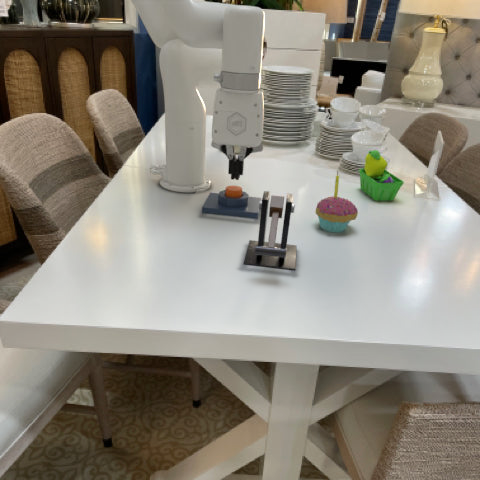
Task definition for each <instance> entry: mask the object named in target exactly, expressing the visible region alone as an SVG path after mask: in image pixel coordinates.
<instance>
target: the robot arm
mask: <svg viewBox="0 0 480 480" xmlns="http://www.w3.org/2000/svg"><path fill="white" fill-rule="evenodd" d="M130 1H131V2H132V4H133V5H134V8H135V9H136V11H137V15H138V16H139V17H140V20H141V22H142V24H143V26H144V27H145V30H146V31H147V33H148V35H149V37H150V39H151V41H152V42H153V44H154V45H155V46H156V47H157V48H159V49H160V51H159V56H158V60H159V61H158V63H159V70H160V76H161V82H162V89H163V99H164V129H165V130H164V132H165V133H164V135H165V164H162V165H158V164H149V170H148V171H149V173H151V175H152V176H161V177H160V178H159V184H160V186H161V187H162V188H163V189H165V190H168V191H171V192H176V193H187V194H188V193H196V192H197V191H198V190H204V191H206V190H209V189H210V188H211V183H212V182H211V180H210V179H209V178H208V177H206V175H205V174H206V144H207V143H206V142H207V141H206V140H207V137H206V136H207V109H206V105H205V103H204V100H203V99H202V97H201V95H200V93H199V90H198V89H203V88H205V89H207V88H209V89H210V88H217V89H216V91H215V96H214V102H213V109H212V111H213V112H212V121H211V122H212V123H211V144H210V146H211V148H214V149H216V150H220V151H222V152H223V154H224V155H225V156H226V158H227V159H228V170H227V172H228V173H227V174H228V175H230V180H236V181H239V180H240V177H241V176H243V175H244V166H245V159H246V158H248V157H249V156H250V155H251V154H254V153H260V152H263V150H264V143H263V137H264V123H265V103H264V92H263V91H262V90H260V88H261V78H262V64H263V49H264V36H265V35H264V34H265V24H266V23H265V22H266V14H265V12H264V10H263V9H262V8H261V7H259V6H254V5H242V4H234V3H233V4H232V3H223V2H216V1H215V2H214V1H204V0H130ZM234 146H241V149H240V154H238V155H236V154H235V151H234Z"/></svg>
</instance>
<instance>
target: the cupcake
mask: <svg viewBox="0 0 480 480" xmlns="http://www.w3.org/2000/svg"><path fill="white" fill-rule="evenodd" d="M339 182H340V175H339V171H336V175H335V181H334V191H333V192H334V193H333V196H327V197H325V198H323V199H322V198H321V200H320V201H318V202H317V204H316V207H315V215H317V218H318V221H319V227H320V228H321V230H323V231H326V232H331V233H342V232H344V231H345V230H346V228H347V227H348V225H349V224H350V222H351V221H354V220H356V219H357V218H358V214H359V211H358V207H357V206H356V205H355V204H354V203H353V202H352V201H351V200H349V199H348V198H344V197H340V196H339V195H338V194H339Z"/></svg>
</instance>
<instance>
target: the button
mask: <svg viewBox="0 0 480 480" xmlns="http://www.w3.org/2000/svg"><path fill="white" fill-rule="evenodd" d="M225 190H226V192H225V196H228V197H233V198H238V197H242V191H243V188H242V187H241V186H238V185H227V186H226V187H225Z"/></svg>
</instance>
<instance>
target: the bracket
mask: <svg viewBox="0 0 480 480" xmlns="http://www.w3.org/2000/svg"><path fill="white" fill-rule="evenodd" d="M270 194H271V192H270V191H268V190H267V191H266V190H265V191H264V190H263V193H262V197H261V198H262V201H260V202H259V209H260V215H259V216H260V217H259V227H258V237H257V240H252V239H249V241H248V245H247V249H246V253H245V256H244V259H243V265H245V266H253V267H259V268H260V267H261V268H269V269H278V270H286V271H287V270H288V271H296V265H297V247H298V246H297V245H296V244H288V237H289V230H290V222H291V214H293V213H295V208H296V207H295V206H296V205H295V204H294V203H293V198H294V194H293V193H286V199H285V200H286V201H285V207H284V208H285V209H284V216H283V223H282V224H283V225H282V230H281V239H280V243H279V242H275V248H284V249H287V251H286V258H282V257H274V256H265V255H256V254H255V246H256V245H257V246H266V247H268V241H266V235H267V234H266V232H267V222H268V215H269V206H270V205H269V203H270Z"/></svg>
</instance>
